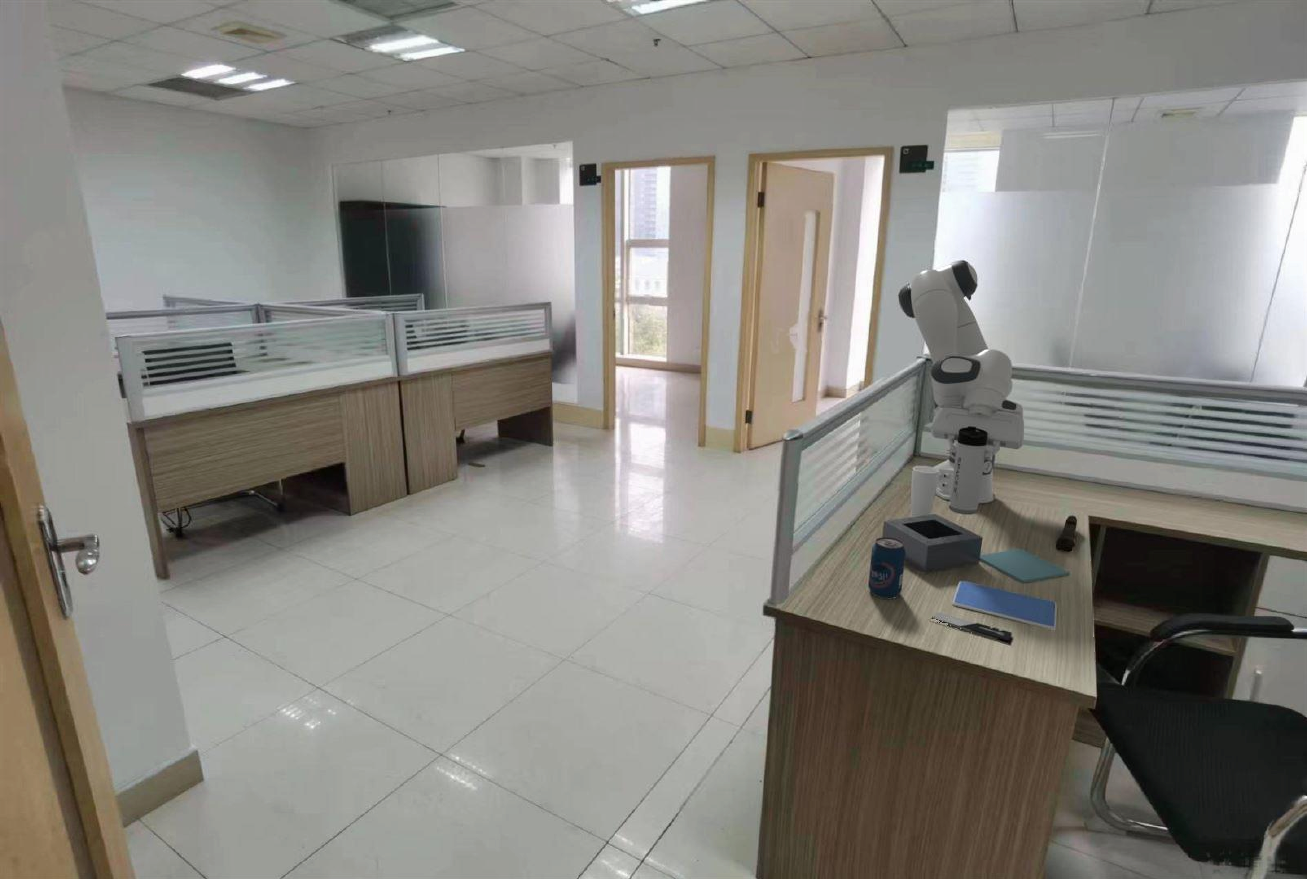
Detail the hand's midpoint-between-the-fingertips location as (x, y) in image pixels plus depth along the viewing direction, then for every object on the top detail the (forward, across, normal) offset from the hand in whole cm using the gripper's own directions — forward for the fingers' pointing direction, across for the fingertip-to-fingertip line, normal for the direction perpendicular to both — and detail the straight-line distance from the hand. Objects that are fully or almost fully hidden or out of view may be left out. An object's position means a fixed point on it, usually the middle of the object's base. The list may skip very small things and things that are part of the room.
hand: (969, 456), depth 160 cm
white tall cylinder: (+3, -14, +34) cm, 37 cm away
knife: (+42, +9, -4) cm, 43 cm away
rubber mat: (+15, +14, +22) cm, 30 cm away
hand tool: (-2, +21, +40) cm, 45 cm away
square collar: (+20, -6, +18) cm, 27 cm away
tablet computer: (+32, +13, +6) cm, 35 cm away
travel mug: (+10, 0, +10) cm, 14 cm away
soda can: (+38, -10, -1) cm, 39 cm away
